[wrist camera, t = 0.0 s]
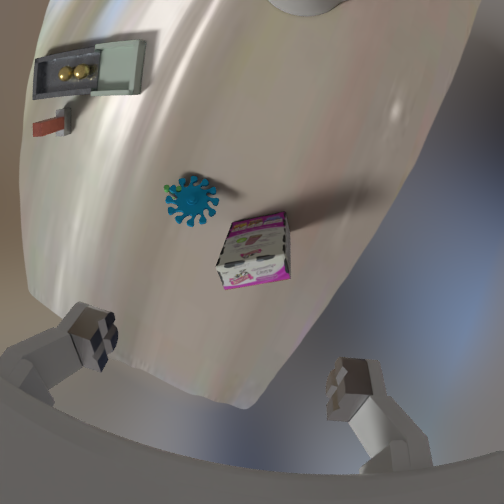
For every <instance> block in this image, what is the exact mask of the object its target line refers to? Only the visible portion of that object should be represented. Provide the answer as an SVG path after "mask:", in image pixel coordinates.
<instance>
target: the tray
mask: <svg viewBox="0 0 504 504" xmlns="http://www.w3.org/2000/svg"><path fill="white" fill-rule="evenodd" d="M145 47H146V41H143V40H127V41H118V42H109V43H102V44H95V49H100V50H101V57H100V66H99V77H98V90H97V91H91V96H108V95H138V94H140V92H141V81H142V72H143V63H144V55H145Z"/></svg>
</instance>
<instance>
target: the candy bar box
mask: <svg viewBox="0 0 504 504" xmlns="http://www.w3.org/2000/svg"><path fill="white" fill-rule="evenodd" d="M216 269H217V272H218V274H219V276H220V279H221V281H222V283H223V284H222V285H223V287H224V289H225V290H228V289H234V288H240V287H246V286H252V285H258V284H264V283H270V282H276V281H282V280H287V279H291V263H290V230H289V226H288V221H287V217H286V212H281V213H276V214H271V215H266V216H262V217H257V218H252V219H247V220H243V221H238V222H233V223H232V224H231V227H230V230H229V232H228V235H227V238H226V240H225V243H224V245H223V248H222V251H221V253H220V256H219V259H218V262H217V264H216Z"/></svg>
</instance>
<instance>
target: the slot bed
mask: <svg viewBox="0 0 504 504" xmlns="http://www.w3.org/2000/svg"><path fill="white" fill-rule="evenodd" d="M100 57H101V50H100V49H95V47H90V48H84V49H78V50H73V51H67V52H62V53H58V54H53V55H49V56H45V57H41V58H37V59H35V66H34V79H33V100H37V99H44V98H52V97H61V96H71V95H83V94H91V91H97V90H98V77H99V66H100ZM82 63H85V64H87V65H88V66H89V67H90V73H89V75H88V76H87V77H86V78H85V79H81V80H80V79H77V78H75V76H74V74H73V77H72V78H71V79H70V80H68V81H61V80H60V79H59V77H58V73H59V71H60V69H61V68H62V67H64V66H71V67H72V68H73V70H74V69H75V68H76V66H77V65H79V64H82Z"/></svg>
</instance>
